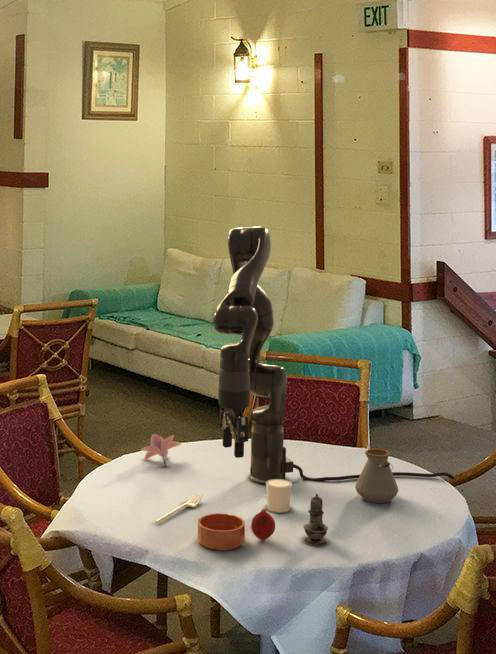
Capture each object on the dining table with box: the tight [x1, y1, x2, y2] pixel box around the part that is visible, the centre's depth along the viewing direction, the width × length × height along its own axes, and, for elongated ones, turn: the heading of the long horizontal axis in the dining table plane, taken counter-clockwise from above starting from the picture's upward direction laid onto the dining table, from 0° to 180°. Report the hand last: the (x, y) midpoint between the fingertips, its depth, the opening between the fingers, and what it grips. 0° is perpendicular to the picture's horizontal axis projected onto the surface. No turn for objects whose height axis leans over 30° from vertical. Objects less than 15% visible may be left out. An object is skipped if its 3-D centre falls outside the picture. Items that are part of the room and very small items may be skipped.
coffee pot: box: [354, 448, 399, 504], centre depth 256 cm, size 21×12×15 cm, turn 177°
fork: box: [155, 493, 204, 524], centre depth 251 cm, size 3×20×2 cm, turn 145°
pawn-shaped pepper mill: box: [303, 493, 329, 547], centre depth 232 cm, size 6×6×12 cm
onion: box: [250, 507, 276, 541], centre depth 232 cm, size 6×6×8 cm
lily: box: [140, 433, 182, 467], centre depth 289 cm, size 12×12×10 cm
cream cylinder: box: [265, 479, 293, 514], centre depth 253 cm, size 7×7×7 cm
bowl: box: [197, 512, 246, 551], centre depth 232 cm, size 11×11×5 cm
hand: (232, 451), depth 235 cm, fingers open, 8 cm apart
